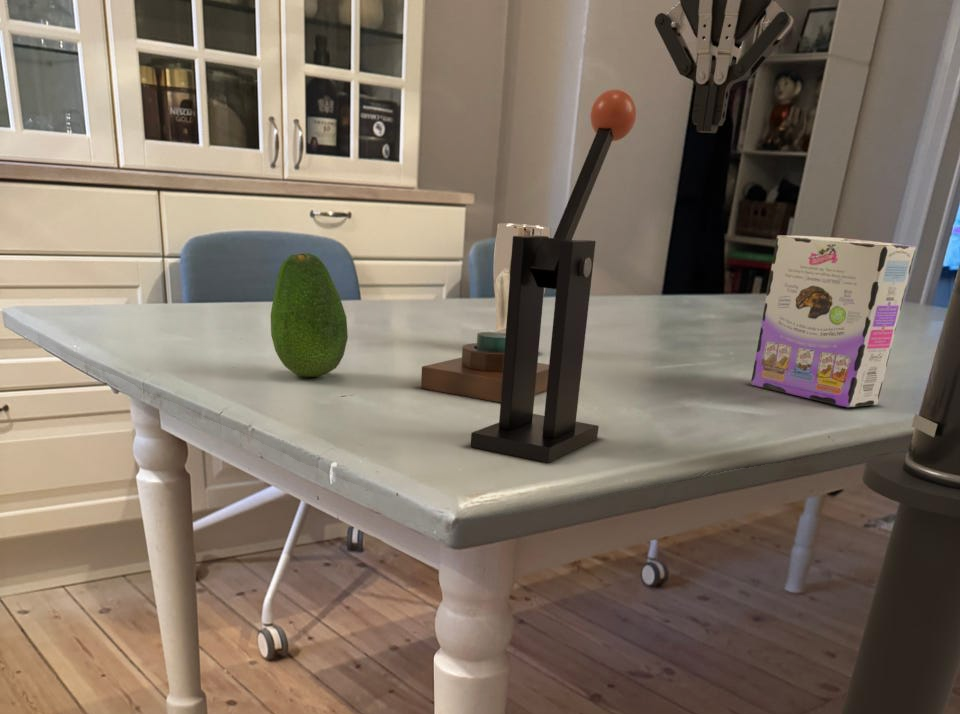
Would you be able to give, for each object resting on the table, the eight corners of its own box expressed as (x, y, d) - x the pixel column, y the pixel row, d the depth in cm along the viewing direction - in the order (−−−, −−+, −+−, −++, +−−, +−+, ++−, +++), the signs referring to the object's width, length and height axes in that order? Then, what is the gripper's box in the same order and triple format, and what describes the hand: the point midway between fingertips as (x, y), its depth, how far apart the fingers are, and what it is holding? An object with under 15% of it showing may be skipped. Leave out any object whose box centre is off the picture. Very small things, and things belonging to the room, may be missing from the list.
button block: (557, 386, 101) (561, 348, 99) (506, 403, 91) (510, 361, 89) (477, 373, 105) (479, 336, 103) (420, 388, 95) (422, 347, 93)
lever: (604, 114, 77) (595, 78, 73) (645, 116, 75) (637, 78, 72) (531, 291, 74) (518, 261, 70) (573, 296, 72) (561, 265, 69)
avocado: (259, 372, 97) (254, 248, 92) (326, 368, 101) (325, 250, 96) (292, 387, 91) (289, 256, 86) (362, 382, 96) (363, 257, 90)
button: (516, 352, 97) (518, 335, 96) (500, 356, 94) (502, 338, 93) (486, 348, 98) (487, 330, 98) (470, 351, 96) (471, 334, 95)
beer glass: (533, 348, 124) (544, 225, 117) (547, 357, 118) (559, 228, 111) (482, 346, 122) (490, 222, 116) (494, 355, 116) (503, 225, 109)
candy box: (879, 406, 103) (920, 244, 95) (847, 410, 99) (886, 243, 92) (779, 381, 112) (809, 234, 105) (747, 384, 109) (775, 232, 102)
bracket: (525, 425, 83) (541, 233, 76) (597, 439, 80) (621, 241, 73) (470, 447, 75) (483, 235, 68) (548, 463, 72) (569, 243, 65)
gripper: (654, -102, 80) (627, 126, 88) (809, -113, 75) (766, 131, 83) (681, -79, 86) (653, 132, 94) (826, -88, 81) (785, 138, 89)
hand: (706, 131), depth 88 cm, fingers closed
